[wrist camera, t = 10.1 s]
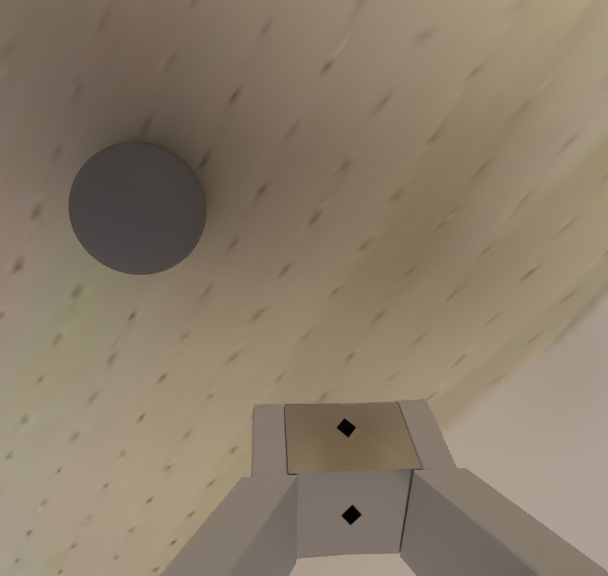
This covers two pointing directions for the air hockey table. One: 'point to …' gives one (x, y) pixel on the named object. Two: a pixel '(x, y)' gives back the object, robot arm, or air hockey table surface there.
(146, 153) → the dark grey ball
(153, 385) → the air hockey table surface
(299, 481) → the robot arm
